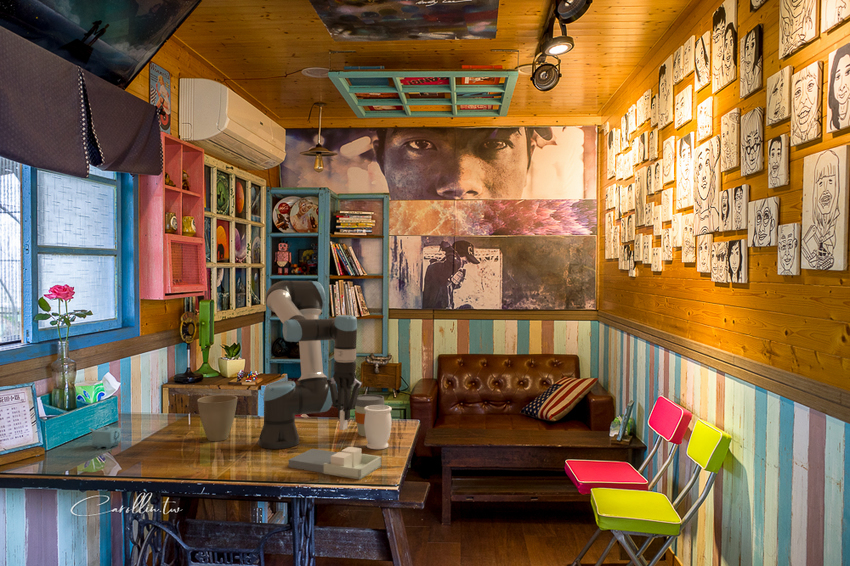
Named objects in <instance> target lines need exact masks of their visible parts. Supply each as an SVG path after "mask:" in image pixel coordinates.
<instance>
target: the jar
mask: <svg viewBox="0 0 850 566" xmlns="http://www.w3.org/2000/svg"><path fill="white" fill-rule="evenodd" d="M365 411H366V414H365V420H364V427H365V435H366V436H365V438H366V439H365V440H366V441H367V444H366V447H367V449H371V450H384V449H387V448H388V447H389V443H388V441H389V439H390V436H391V431H392V424H393V423H392V415H391V412H392V406H389V405H385V404H384V405H370V406H366V407H365Z"/></svg>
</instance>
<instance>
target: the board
mask: <svg viewBox="0 0 850 566" xmlns="http://www.w3.org/2000/svg"><path fill="white" fill-rule="evenodd" d="M338 452H339V451H338ZM338 452H337V451H331V450H324V449H316V448H311V449H308V450H307V451H304V452H302V453H300V454H298V455H296V456H294V457H291V458H289V459H288V468H292V469H298V470H303V469H304V471H310V472H315V473H320V474H321V473H322V474H324V463H328V464H331V456H332V455H334V454H336V453H338Z"/></svg>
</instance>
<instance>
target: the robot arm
mask: <svg viewBox="0 0 850 566" xmlns="http://www.w3.org/2000/svg"><path fill="white" fill-rule="evenodd" d="M326 297H327V296H326V292H325V289H324V287H323V284H321V283H320V282H319V281H316V280H315V281H313V280H280V281H278V282H276V283H274V284H272V285H270V287H269V288H268V289H267V291H266V293H265V297H264V298H265V299H264V300H265V304H266V307H268V309H269V310H270V311H272V312H273V313H275V315H276V316H277V317H278V319H279V320H280V322H281V323H282V336H283V339H284V341H286V342H294V343H299V344H298V346H299V360H300V372H301V375H300V377H299V378H298V379H297V383H295V381H294V380H283V381H277V382H273V383H269V384H268V385H266V387H265V388H264V393H263V425H262V428H261V432H260V433H259V436H258V446H259V447H260V448H263V449H268V450H269V449H270V450H281V449H288V448H292V447H296V446H298V445H299V444H300V435H299V433H298V430H297V426H296V422H295V421H296V420H295V419H296V418H295V417H296V416H298V415H299V416H300V415H308V414H309V415H310V414H319V413H325V412H328V411H329V410H330V409H331V407H333V408H335V409H337V418H338V420H339V430H340V431H345V430H347V429H348V424H349V423H348V420H350V415H351V414H350V413H351V410H353V409H355V406H356V401H357V397H358V395H359V393H360V389H361V387H362V386H363V382H362V381H359V380H358V379H357V376H356V371H357V362H356V360H357V341H358V340H357V337H358V336H357V334H358V320H357V317H356V316H355V315H348V314H340V315H336V316H335V317H330V318H329V317H328V318H320V317H319V316H320V315H321V314H322V311H323V310H322V309H324V308H325V307H326V300H327V299H326ZM321 341H333V342H334V346H333V347H334V349H333V350H334V351H333V353H334V355H333V359H334V362H333V376H332V377H331V378H329V379H328V376H327V375H326V374H324V368H323V355H322V345H321ZM352 387H353V388H352Z"/></svg>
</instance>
